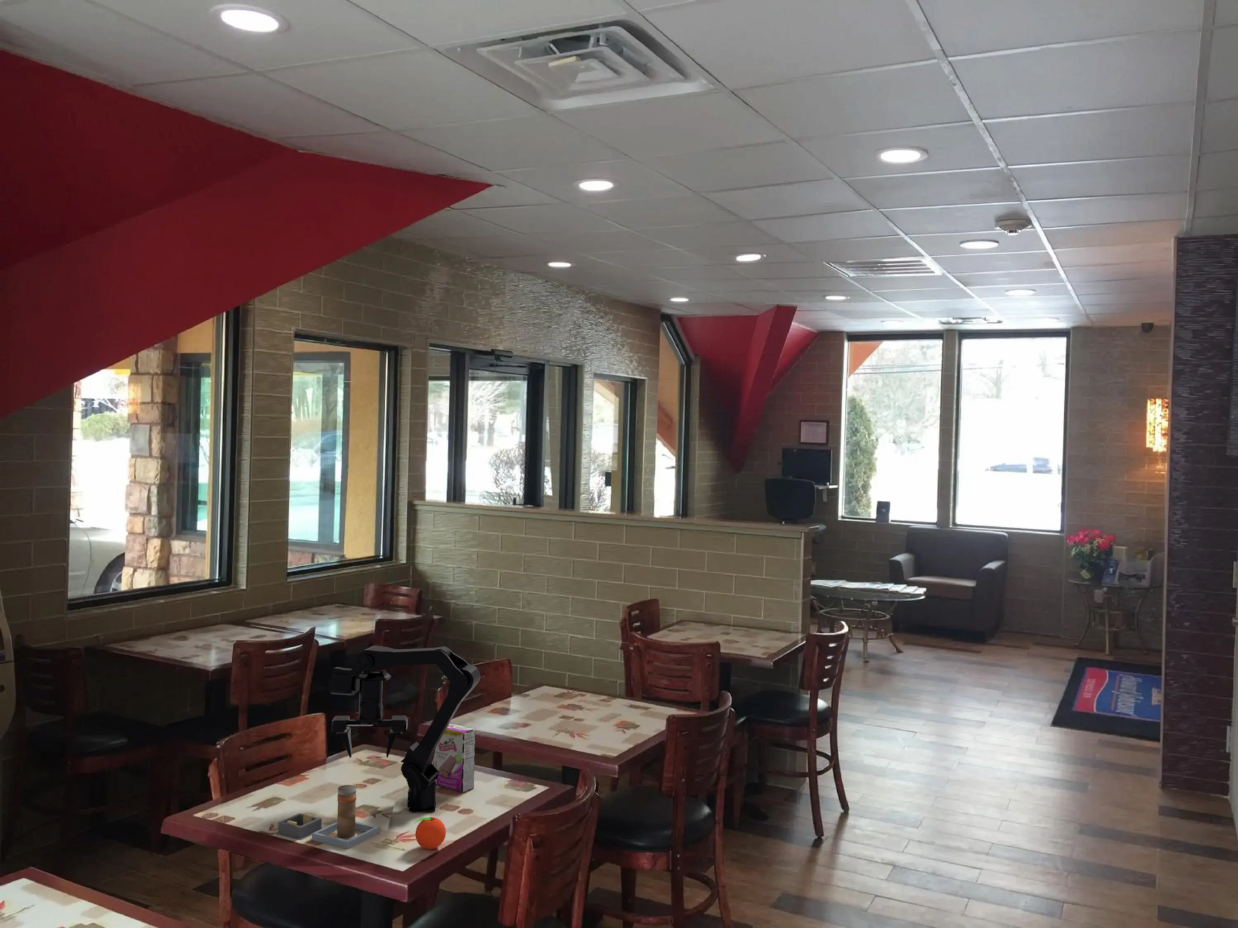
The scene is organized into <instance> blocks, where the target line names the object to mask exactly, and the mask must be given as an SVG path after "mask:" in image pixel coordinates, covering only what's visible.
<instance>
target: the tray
mask: <svg viewBox="0 0 1238 928" xmlns="http://www.w3.org/2000/svg"><path fill="white" fill-rule="evenodd" d="M321 828H322V829H320V830H318V831H316V832H314V833H312V835H311V840H312V841H314V842H318V843H322V844H327V845H330V846H333V847H338V848H342V849H343V848H344V849H347V850H349V849H351V848H353V847H355V846H357V845H359V844H362V843H363V842H365V841H367V840H369V839H371V838H373V837H375V836H377V835H379V834H380V826H376V825H373V824H372V825H371V824H367V823H365V822H360V821H356V820H355V831H361V832H362V833H360V834H358V835H355V837H354V838H352V839H350V840H344V839H340V838H337V836H332V835H329V834H331V833H334V832H337V821H335V822H334V823H332V824H329V825H327V826H325V827H321Z"/></svg>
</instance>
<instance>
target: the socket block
mask: <svg viewBox="0 0 1238 928" xmlns="http://www.w3.org/2000/svg"><path fill="white" fill-rule="evenodd" d="M322 822H323V821H322V818H321V817H316V816H314V815H313V814H308V813H296V814H294V815H292V816H290V817H287V818H285V819H283V820H280V821H279V822H277V823H278V824H277V825H278V827H277V829H278V830H277V832H275V833H274V835H279V836H282V837H287V838H290V839H293V840H294V839H295V840H299V841H302V840H304V839H307V838H308V837H312V833H314V832H316V831H318V830H320V829H322V828H323V827H322Z"/></svg>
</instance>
